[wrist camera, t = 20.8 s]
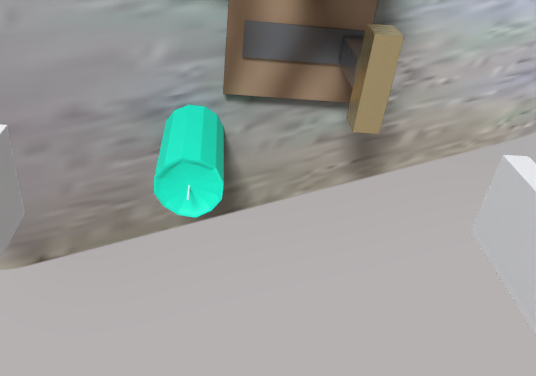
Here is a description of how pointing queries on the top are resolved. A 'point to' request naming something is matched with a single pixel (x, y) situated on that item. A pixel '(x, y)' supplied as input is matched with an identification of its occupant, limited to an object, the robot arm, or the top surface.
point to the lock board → (291, 47)
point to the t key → (370, 74)
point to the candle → (191, 162)
